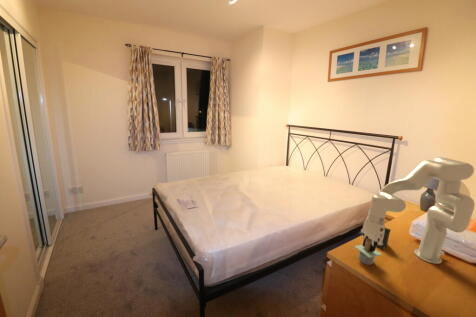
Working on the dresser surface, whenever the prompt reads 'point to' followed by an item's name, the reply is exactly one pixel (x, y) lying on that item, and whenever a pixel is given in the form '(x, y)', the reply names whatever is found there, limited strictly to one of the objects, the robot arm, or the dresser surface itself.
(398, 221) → the dresser surface
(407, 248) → the dresser surface
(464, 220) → the robot arm
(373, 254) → the lid
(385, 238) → the phone stand
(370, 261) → the cup
